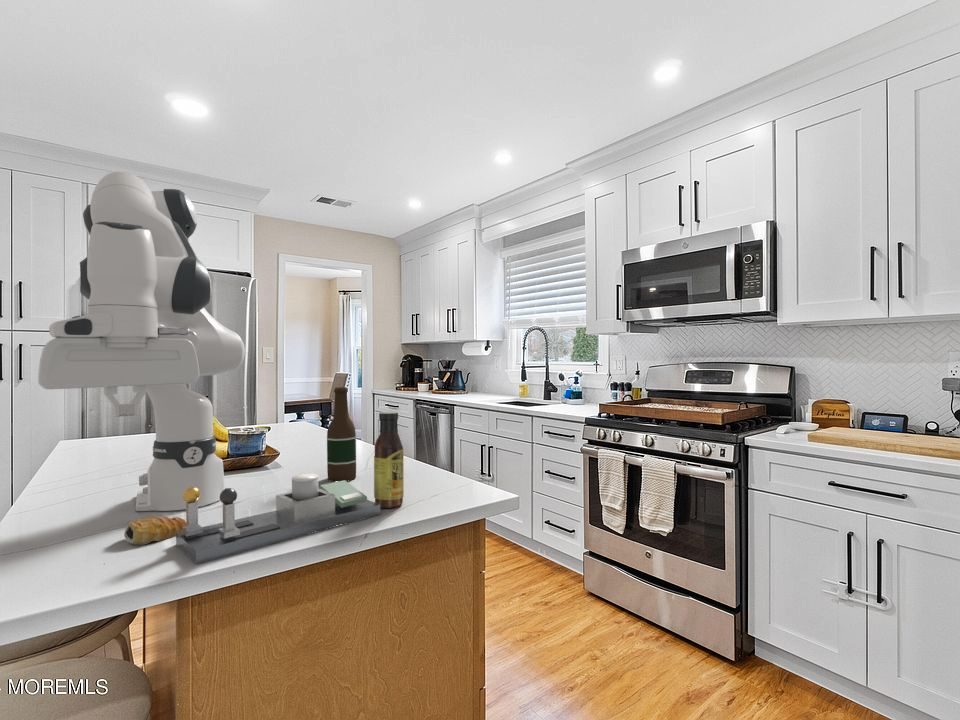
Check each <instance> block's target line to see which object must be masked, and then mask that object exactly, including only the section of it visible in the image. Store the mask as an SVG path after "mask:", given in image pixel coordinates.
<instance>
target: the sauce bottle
mask: <svg viewBox="0 0 960 720" xmlns="http://www.w3.org/2000/svg"><path fill="white" fill-rule="evenodd" d="M378 415H379V418H378V419H379V433H380V434H379V435H378V437H377V438H376V441H375V443H374V456H373V474H374V475H373V495H374V496H373V497H374V502H375V503H377V504H380V509H390V508H391V509H392V508H397V507H399V506H402V505H403V502H404V495H405V494H404V493H405V492H404V485H405V483H404V482H405V481H404V475H405V474H404V467H405V466H404V463H405V462H404V446H403V443H402V440H401V438H400V434H399V429H398V419H399V412H398V411H384V412H379V413H378Z"/></svg>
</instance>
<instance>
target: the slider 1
mask: <svg viewBox="0 0 960 720" xmlns="http://www.w3.org/2000/svg"><path fill="white" fill-rule="evenodd" d="M200 495H201V493H200V490H199V489H198V488H196V487H189V488H187V489H186V490H185V491H184V493H183V499H184V500H185V501H186V509H185V517H186V520H185V522H186V526H184V527H182V532H183V533H184V534H185V535H186V536H191V535H196V534H200V533H203V528H202V527H203V526H201V525H200V524H199V507H198V502H197V500H198V499H199V498H200Z"/></svg>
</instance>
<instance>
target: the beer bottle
mask: <svg viewBox="0 0 960 720" xmlns="http://www.w3.org/2000/svg"><path fill="white" fill-rule="evenodd" d="M333 392H334V410H333V418H332V420H331V421H330V423H329V425H328V428H327V431H326V451H327V452H326V460H327V462H326V463H327V464H326V466H327V467H326V468H327V471H326V472H327V479H328V481H329V480H331V481H330V482H334V481H343V480H345V481H347V482H349V481H351V480H352V479H353V480H355V479H356V477H357V440H356V439H357V434H356V426H355V424H354V421H352V418H350V414H349V404H348V403H349V402H348V392H349V390H348V387H347V386H338V387H334V390H333ZM348 480H349V481H348Z"/></svg>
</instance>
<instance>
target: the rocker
mask: <svg viewBox="0 0 960 720" xmlns="http://www.w3.org/2000/svg"><path fill="white" fill-rule="evenodd" d="M319 489H322V490H324V491H327V492H329V493H332V494H335V503H336V504H338V505H339V506H340V507H341V508H342V507H346V506H351V505H355V504H359V503H363V502H367V500H368V496H367V495H365V494H364V493H362V491H360V490H358V489H357V488H356V487H354V486H353V485H352V484H350V483H349V481H345V480H343V481H338V482H334V481H332V482H328V483H324V484H320V486H319Z"/></svg>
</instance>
